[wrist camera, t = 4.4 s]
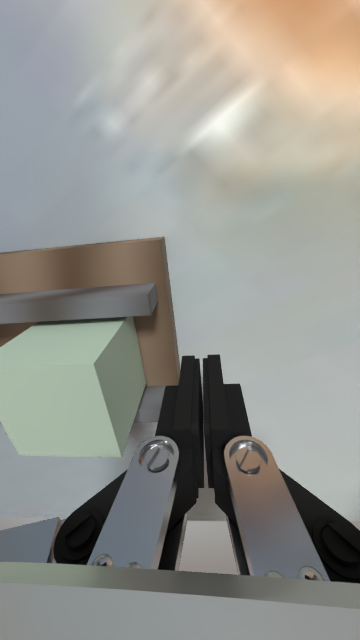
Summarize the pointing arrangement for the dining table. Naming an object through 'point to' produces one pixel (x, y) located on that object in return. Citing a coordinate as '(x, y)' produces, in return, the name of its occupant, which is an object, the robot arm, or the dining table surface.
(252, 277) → the dining table surface
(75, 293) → the track
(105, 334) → the pale green cube
